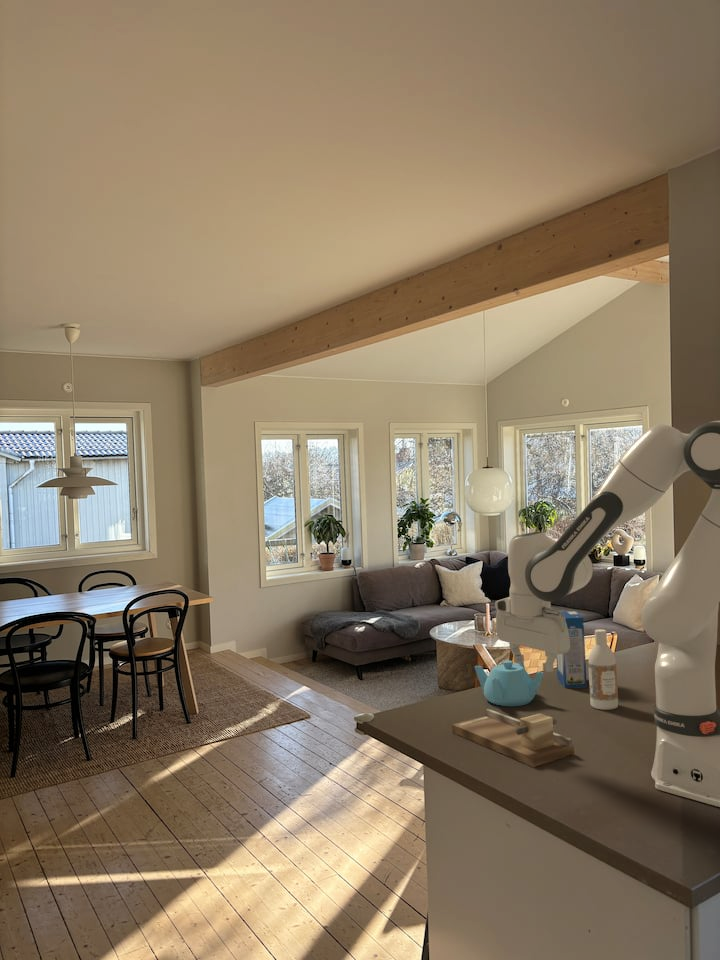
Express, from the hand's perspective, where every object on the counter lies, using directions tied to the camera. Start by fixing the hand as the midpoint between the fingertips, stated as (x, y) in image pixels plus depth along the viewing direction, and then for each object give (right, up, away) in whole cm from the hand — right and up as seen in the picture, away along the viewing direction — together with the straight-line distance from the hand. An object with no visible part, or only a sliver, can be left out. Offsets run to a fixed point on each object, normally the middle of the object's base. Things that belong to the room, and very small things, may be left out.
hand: (533, 667), depth 169 cm
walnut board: (-4, -19, +7) cm, 21 cm away
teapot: (+3, -19, +40) cm, 45 cm away
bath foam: (+26, -18, +30) cm, 44 cm away
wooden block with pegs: (+1, -17, 0) cm, 17 cm away
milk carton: (+24, -18, +54) cm, 61 cm away
